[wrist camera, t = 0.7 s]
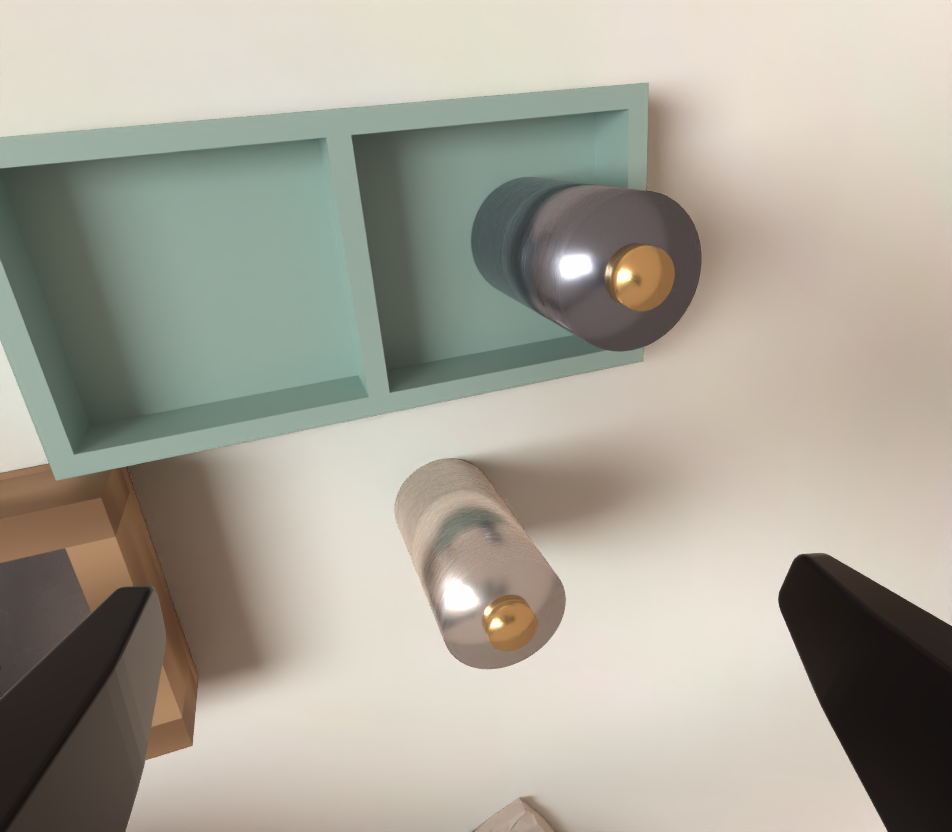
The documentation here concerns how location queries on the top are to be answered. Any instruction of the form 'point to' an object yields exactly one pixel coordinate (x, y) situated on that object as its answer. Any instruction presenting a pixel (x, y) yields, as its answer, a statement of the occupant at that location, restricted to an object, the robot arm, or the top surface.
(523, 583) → the steel cell
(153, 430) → the trough tray
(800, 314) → the top surface
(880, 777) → the robot arm
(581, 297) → the dark cell
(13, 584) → the plate
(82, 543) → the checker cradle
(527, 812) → the packaged product
